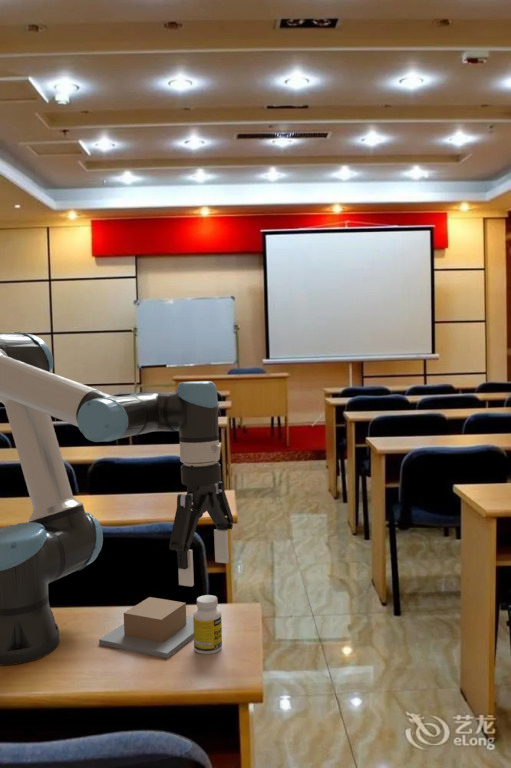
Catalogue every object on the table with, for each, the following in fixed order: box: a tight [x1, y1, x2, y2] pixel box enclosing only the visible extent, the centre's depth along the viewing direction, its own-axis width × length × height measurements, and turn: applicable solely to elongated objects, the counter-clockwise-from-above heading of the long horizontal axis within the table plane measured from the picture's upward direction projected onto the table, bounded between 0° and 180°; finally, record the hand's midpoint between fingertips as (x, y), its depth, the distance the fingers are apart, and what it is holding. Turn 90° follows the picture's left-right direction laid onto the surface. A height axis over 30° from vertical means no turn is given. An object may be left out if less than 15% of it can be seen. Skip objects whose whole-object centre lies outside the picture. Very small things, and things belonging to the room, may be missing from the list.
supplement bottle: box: [192, 594, 223, 655], centre depth 122 cm, size 5×5×10 cm
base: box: [98, 596, 194, 660], centre depth 130 cm, size 16×16×6 cm
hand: (205, 573), depth 122 cm, fingers open, 13 cm apart
